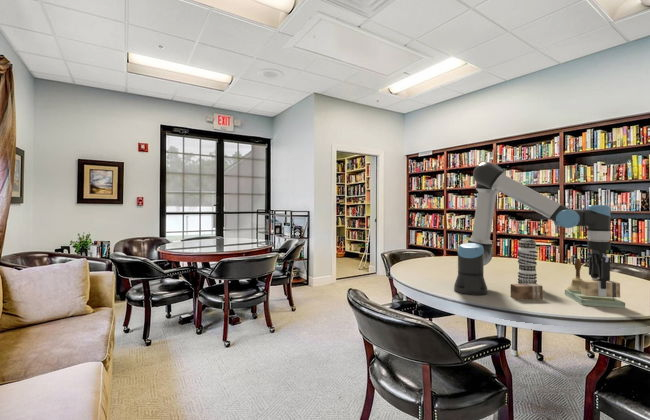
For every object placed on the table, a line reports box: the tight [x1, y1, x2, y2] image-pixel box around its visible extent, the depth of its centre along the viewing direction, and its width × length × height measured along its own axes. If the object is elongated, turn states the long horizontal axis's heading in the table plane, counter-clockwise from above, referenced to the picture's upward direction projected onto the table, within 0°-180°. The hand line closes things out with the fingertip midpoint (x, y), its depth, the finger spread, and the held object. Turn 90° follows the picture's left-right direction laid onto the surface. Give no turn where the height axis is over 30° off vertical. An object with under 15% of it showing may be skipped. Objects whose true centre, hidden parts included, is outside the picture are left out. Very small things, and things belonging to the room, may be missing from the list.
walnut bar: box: [510, 283, 544, 301], centre depth 146 cm, size 12×5×6 cm, turn 92°
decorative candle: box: [516, 238, 539, 284], centre depth 167 cm, size 9×9×25 cm
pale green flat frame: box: [564, 289, 626, 309], centre depth 141 cm, size 15×17×2 cm
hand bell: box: [566, 258, 583, 291], centre depth 160 cm, size 8×8×16 cm
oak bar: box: [581, 279, 621, 299], centre depth 136 cm, size 12×5×6 cm, turn 72°
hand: (599, 294), depth 136 cm, fingers closed on oak bar, 4 cm apart
